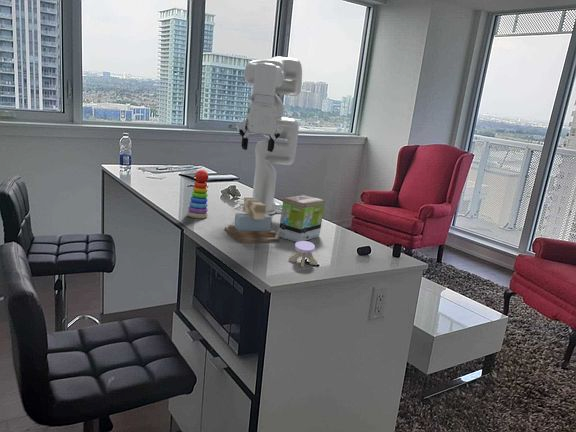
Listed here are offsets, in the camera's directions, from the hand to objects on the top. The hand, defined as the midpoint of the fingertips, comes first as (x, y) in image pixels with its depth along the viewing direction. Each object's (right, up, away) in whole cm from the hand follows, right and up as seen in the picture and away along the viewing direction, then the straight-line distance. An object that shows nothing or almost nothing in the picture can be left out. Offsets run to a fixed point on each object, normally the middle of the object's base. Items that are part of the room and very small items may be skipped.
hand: (257, 150), depth 166 cm
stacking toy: (-25, -23, +22) cm, 41 cm away
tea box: (+15, -31, +11) cm, 36 cm away
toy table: (+15, -38, -19) cm, 45 cm away
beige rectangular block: (-2, -23, +3) cm, 23 cm away
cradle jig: (-2, -30, +4) cm, 30 cm away
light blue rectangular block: (-2, -29, +4) cm, 29 cm away
